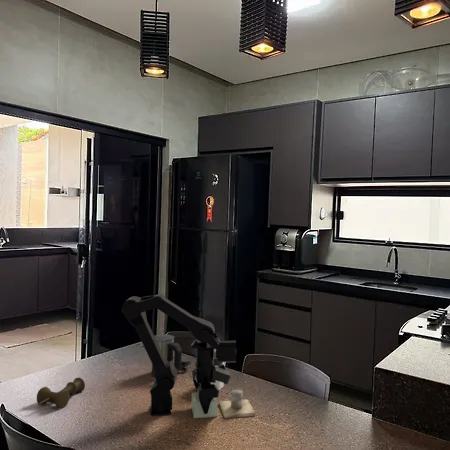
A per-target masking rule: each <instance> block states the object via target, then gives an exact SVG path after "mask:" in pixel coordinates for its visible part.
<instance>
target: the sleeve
mask: <svg viewBox="0 0 450 450" xmlns="http://www.w3.org/2000/svg"><path fill="white" fill-rule="evenodd" d="M217 399H218V398H213V399H212V400H211V403H210V407H209V410H208V413H207V414H204V412H203V409H202V406H201V404H200V401H199V398H198V395H197V392H192V393H191V406H190V407H191V411H192V415H193V418H194V419H198V418H200V419H201V418H213V417H216V418H217V417H218V400H217Z"/></svg>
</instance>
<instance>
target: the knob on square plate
mask: <svg viewBox="0 0 450 450" xmlns="http://www.w3.org/2000/svg"><path fill="white" fill-rule="evenodd" d="M230 392H231V393H230V394H231V395H230V396H231V397H230V399H231V400H223V401H222V400H220V401H218V402H219V403H218V404H219V405H218V406H219V408H220V410H221V412H222V414H223V417H224V418H225V419H226V418H243V417H254V416H255V417H256V412H255V409H254V408H253V406H252V405H251V403H250V401H249V400H248V399H244V398H243V397H244V396H243V395H244V394H243V393H244V391H243V390H240V389H233V390H231V391H230Z"/></svg>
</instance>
